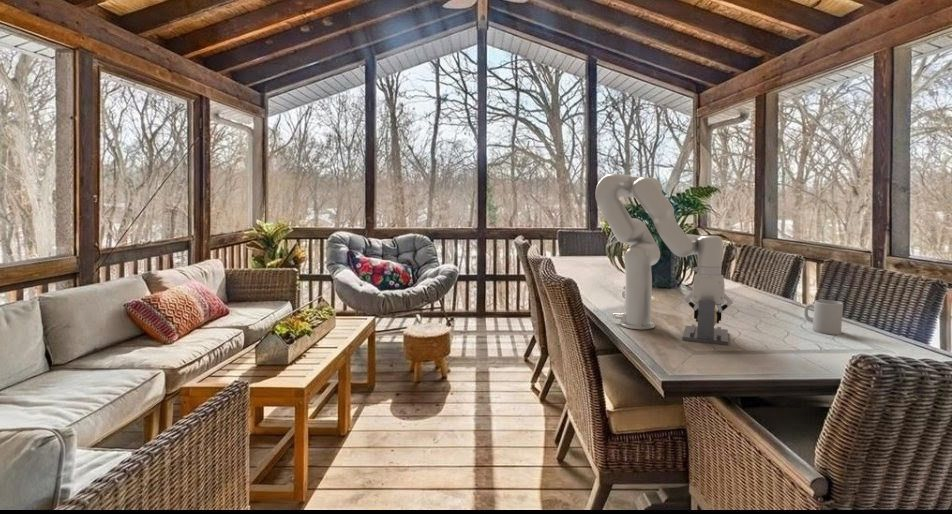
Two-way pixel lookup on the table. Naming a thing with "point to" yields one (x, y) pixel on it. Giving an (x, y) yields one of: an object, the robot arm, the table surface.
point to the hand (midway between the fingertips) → (707, 321)
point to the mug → (826, 316)
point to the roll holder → (706, 326)
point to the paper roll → (715, 317)
